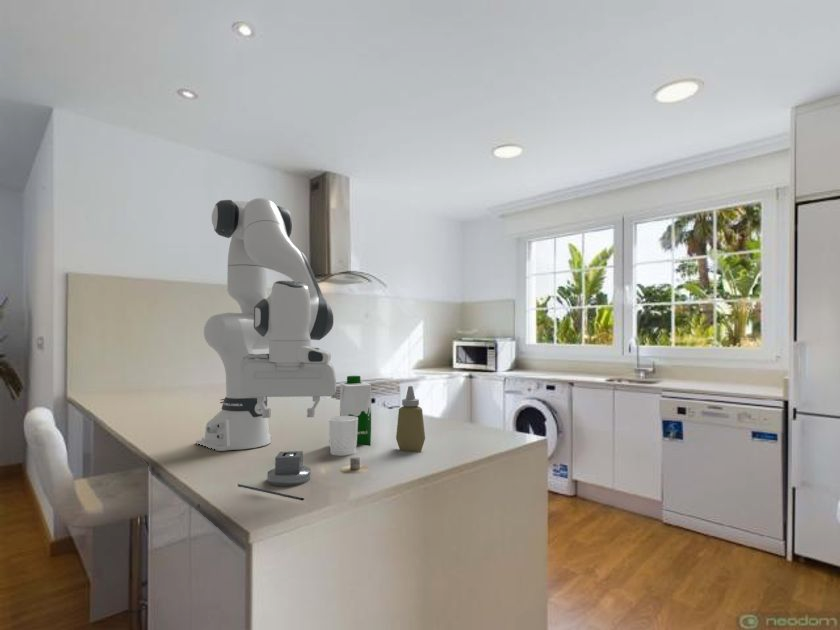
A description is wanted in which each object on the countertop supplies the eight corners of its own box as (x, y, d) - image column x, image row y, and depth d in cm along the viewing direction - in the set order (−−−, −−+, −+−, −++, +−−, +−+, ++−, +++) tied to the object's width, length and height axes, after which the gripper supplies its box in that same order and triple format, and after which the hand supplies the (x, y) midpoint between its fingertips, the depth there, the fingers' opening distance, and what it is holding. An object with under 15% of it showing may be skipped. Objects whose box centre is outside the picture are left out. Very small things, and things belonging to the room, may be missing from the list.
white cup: (352, 460, 116) (352, 421, 117) (323, 459, 118) (323, 420, 118) (362, 452, 124) (362, 416, 124) (335, 451, 126) (335, 415, 126)
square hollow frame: (275, 475, 95) (275, 457, 96) (279, 468, 100) (279, 451, 100) (299, 474, 96) (299, 456, 96) (302, 467, 101) (302, 451, 101)
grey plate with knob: (237, 486, 97) (238, 456, 97) (279, 471, 107) (279, 444, 108) (301, 500, 88) (301, 467, 89) (339, 482, 99) (339, 453, 99)
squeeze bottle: (391, 453, 123) (391, 387, 123) (403, 447, 130) (403, 384, 131) (418, 456, 120) (418, 388, 120) (429, 449, 127) (429, 385, 128)
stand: (333, 475, 104) (333, 459, 104) (351, 467, 110) (351, 452, 110) (358, 479, 101) (358, 463, 101) (375, 471, 107) (375, 456, 107)
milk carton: (365, 440, 138) (365, 375, 139) (374, 447, 130) (374, 377, 131) (337, 443, 135) (337, 376, 136) (344, 450, 127) (344, 378, 127)
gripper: (236, 354, 95) (235, 420, 94) (335, 354, 97) (334, 419, 97) (244, 353, 101) (243, 415, 101) (337, 353, 103) (336, 413, 103)
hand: (288, 417), depth 99 cm, fingers open, 8 cm apart
